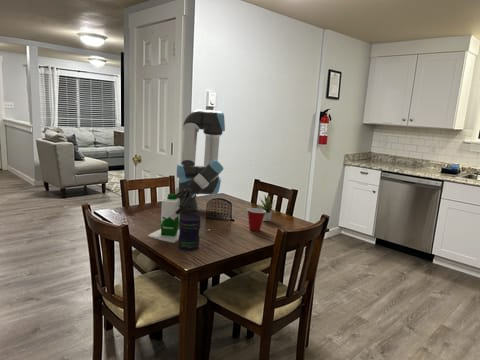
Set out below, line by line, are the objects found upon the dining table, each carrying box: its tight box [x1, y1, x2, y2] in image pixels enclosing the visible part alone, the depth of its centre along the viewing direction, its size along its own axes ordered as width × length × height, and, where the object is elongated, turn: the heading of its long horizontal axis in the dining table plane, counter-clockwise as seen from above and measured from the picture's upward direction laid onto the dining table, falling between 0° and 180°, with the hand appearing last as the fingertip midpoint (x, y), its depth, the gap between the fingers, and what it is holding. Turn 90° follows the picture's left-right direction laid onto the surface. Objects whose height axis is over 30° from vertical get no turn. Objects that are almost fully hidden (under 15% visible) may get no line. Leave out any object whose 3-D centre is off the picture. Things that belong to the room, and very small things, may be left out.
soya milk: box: [160, 193, 180, 236], centre depth 177 cm, size 9×9×20 cm
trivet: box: [147, 228, 180, 244], centre depth 179 cm, size 15×15×1 cm
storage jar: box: [177, 213, 202, 252], centre depth 164 cm, size 10×10×15 cm
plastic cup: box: [246, 207, 266, 232], centre depth 197 cm, size 11×11×12 cm
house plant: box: [256, 194, 276, 221], centre depth 217 cm, size 14×14×16 cm
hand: (167, 213), depth 176 cm, fingers open, 13 cm apart
